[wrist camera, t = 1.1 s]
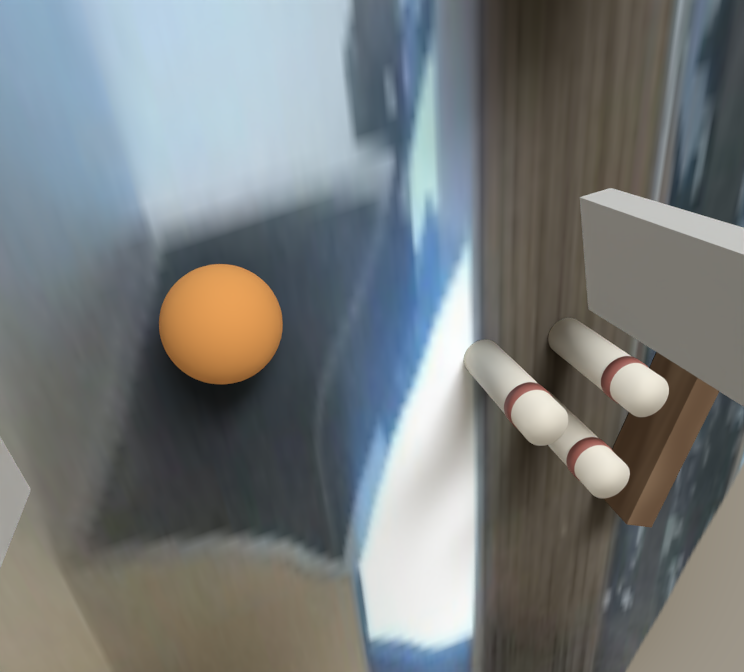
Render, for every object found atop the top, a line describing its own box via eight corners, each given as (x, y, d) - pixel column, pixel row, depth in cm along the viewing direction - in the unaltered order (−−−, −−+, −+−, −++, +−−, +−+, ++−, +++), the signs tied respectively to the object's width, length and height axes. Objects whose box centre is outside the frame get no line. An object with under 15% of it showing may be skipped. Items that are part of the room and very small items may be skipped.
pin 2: (514, 419, 42) (580, 496, 34) (527, 385, 41) (598, 456, 33) (546, 425, 42) (619, 501, 35) (560, 391, 42) (637, 462, 34)
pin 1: (541, 350, 40) (617, 414, 33) (556, 313, 39) (637, 370, 32) (574, 357, 41) (657, 421, 33) (589, 321, 40) (677, 378, 33)
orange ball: (154, 345, 35) (142, 394, 29) (175, 239, 33) (166, 271, 27) (263, 364, 36) (271, 414, 31) (288, 265, 35) (301, 299, 29)
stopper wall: (594, 488, 45) (626, 524, 42) (690, 277, 41) (736, 296, 37) (617, 491, 46) (651, 527, 42) (714, 284, 41) (762, 303, 38)
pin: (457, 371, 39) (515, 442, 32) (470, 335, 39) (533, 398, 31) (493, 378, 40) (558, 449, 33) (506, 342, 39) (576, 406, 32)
